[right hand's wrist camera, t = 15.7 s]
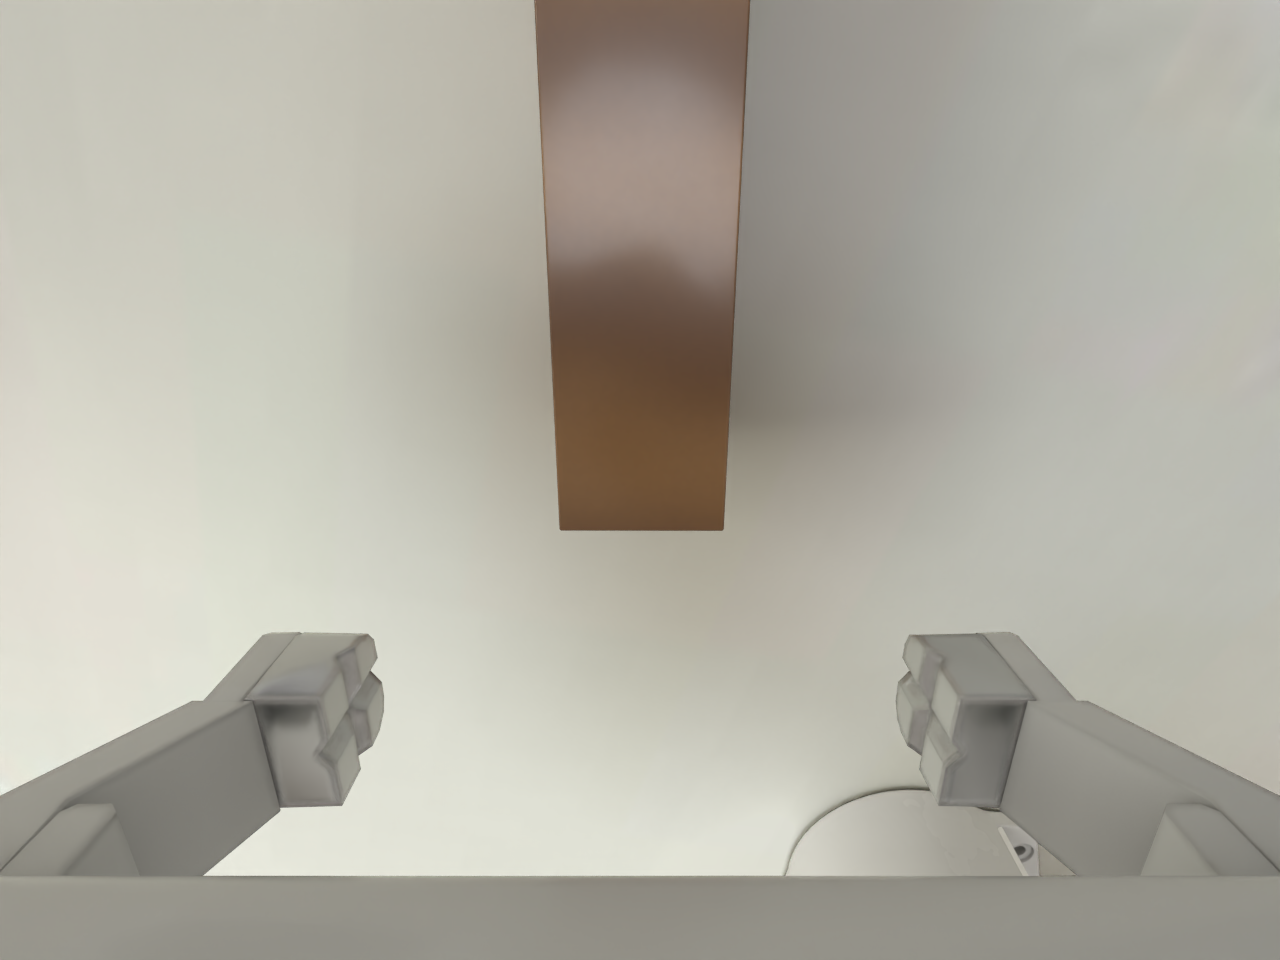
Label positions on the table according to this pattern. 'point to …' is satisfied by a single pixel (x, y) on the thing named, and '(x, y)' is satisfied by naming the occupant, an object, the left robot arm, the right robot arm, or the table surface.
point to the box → (642, 253)
